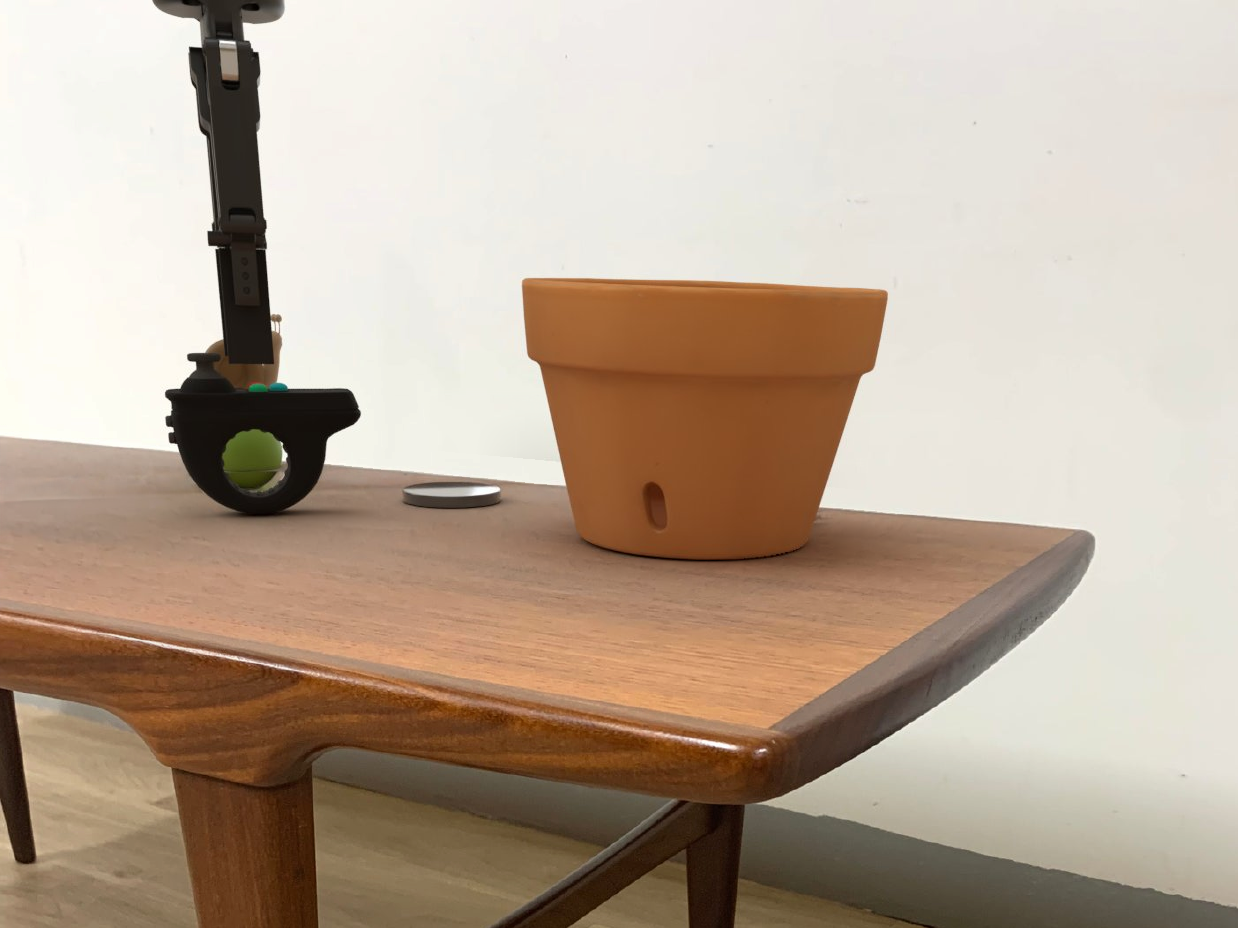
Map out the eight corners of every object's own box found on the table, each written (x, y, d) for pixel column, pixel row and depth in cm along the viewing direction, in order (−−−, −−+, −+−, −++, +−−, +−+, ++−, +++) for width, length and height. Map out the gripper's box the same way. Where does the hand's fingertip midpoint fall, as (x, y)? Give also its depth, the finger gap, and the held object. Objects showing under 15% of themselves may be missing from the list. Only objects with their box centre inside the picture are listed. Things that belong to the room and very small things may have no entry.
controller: (177, 510, 88) (157, 351, 84) (362, 504, 92) (352, 351, 88) (177, 520, 84) (157, 355, 80) (370, 514, 88) (360, 355, 84)
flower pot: (930, 541, 83) (957, 285, 77) (721, 592, 68) (735, 282, 62) (676, 500, 95) (682, 279, 90) (455, 536, 81) (445, 275, 75)
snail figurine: (310, 488, 98) (296, 315, 93) (228, 496, 94) (209, 315, 89) (277, 480, 101) (262, 312, 97) (197, 486, 98) (178, 313, 93)
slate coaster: (410, 509, 90) (410, 497, 90) (396, 494, 96) (395, 483, 96) (510, 506, 92) (510, 494, 92) (489, 491, 98) (489, 480, 98)
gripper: (293, -99, 68) (322, 371, 77) (269, -26, 85) (295, 351, 94) (140, -116, 66) (188, 370, 75) (147, -38, 83) (186, 349, 92)
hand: (248, 358), depth 85 cm, fingers open, 7 cm apart
